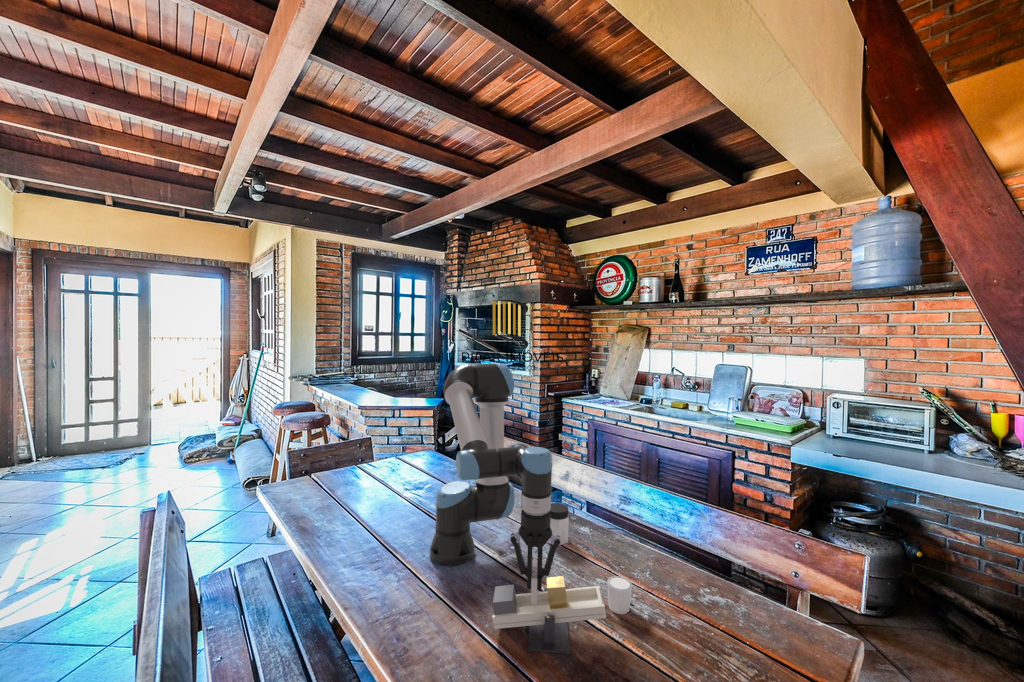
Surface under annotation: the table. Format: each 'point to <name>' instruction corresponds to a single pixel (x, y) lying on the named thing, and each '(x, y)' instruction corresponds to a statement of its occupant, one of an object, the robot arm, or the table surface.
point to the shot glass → (619, 594)
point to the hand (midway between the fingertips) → (533, 600)
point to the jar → (559, 522)
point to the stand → (549, 636)
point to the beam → (545, 607)
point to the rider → (557, 592)
